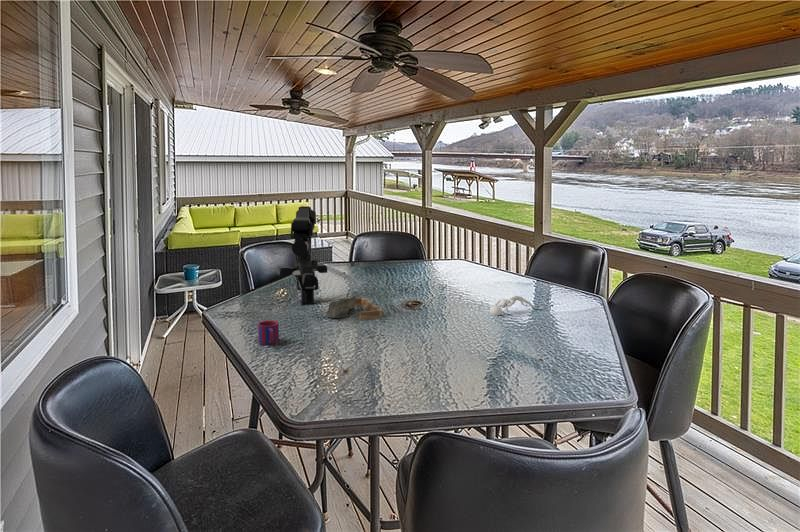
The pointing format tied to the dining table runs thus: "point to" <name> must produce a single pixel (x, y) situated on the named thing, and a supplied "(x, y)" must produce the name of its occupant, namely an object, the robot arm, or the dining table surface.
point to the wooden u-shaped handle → (373, 309)
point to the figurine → (504, 303)
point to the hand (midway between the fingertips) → (302, 291)
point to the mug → (268, 332)
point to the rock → (341, 307)
